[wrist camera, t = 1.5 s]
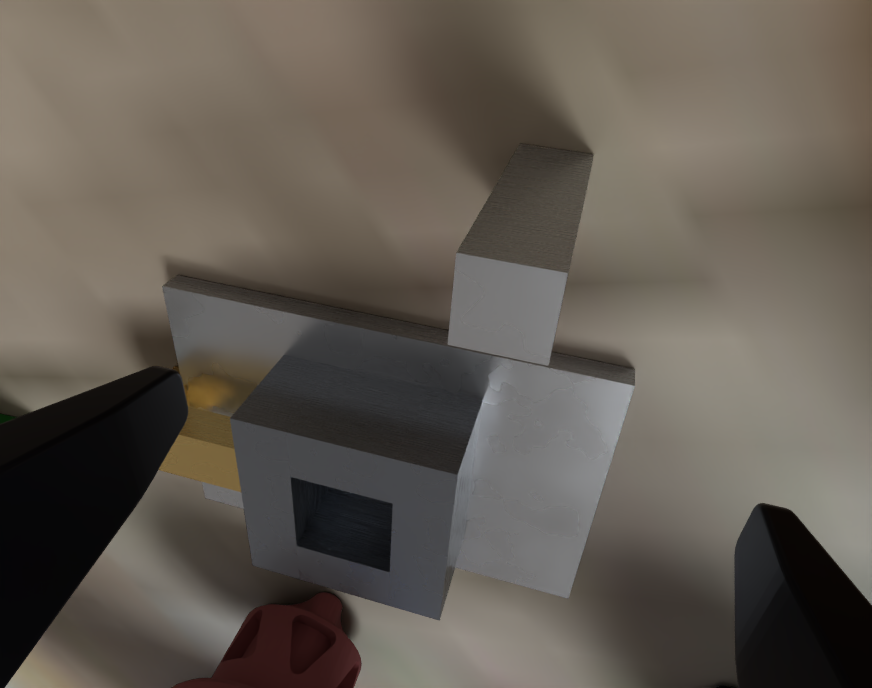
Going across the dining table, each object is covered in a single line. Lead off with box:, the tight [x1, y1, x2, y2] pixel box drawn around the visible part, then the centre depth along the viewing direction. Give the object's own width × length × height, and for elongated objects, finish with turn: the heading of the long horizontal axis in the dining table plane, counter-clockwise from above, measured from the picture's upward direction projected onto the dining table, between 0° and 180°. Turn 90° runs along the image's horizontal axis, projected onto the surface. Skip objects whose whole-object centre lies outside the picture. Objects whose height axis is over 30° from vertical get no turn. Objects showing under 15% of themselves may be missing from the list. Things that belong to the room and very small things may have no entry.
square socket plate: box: [159, 275, 635, 620], centre depth 25 cm, size 19×12×5 cm, turn 86°
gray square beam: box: [448, 144, 594, 366], centre depth 16 cm, size 2×2×8 cm
